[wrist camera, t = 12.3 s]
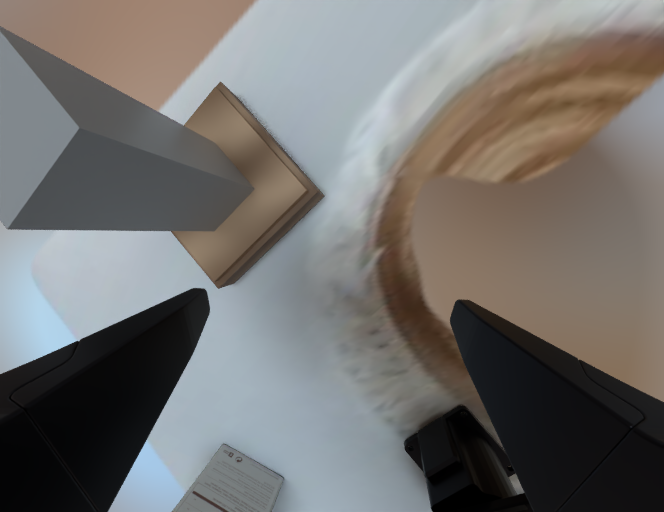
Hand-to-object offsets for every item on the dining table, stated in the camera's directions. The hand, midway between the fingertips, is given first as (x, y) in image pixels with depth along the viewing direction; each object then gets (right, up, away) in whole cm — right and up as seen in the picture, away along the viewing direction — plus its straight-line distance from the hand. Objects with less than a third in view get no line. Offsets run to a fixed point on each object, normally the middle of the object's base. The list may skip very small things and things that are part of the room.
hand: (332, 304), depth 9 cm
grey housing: (-9, +7, +12) cm, 17 cm away
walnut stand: (-9, +8, +14) cm, 19 cm away
